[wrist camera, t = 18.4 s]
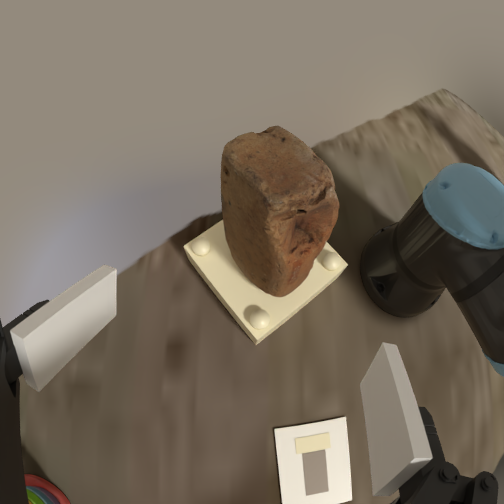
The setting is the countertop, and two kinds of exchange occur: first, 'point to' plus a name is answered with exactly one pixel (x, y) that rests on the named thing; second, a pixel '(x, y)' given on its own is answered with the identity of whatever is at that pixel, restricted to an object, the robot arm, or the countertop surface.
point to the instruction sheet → (314, 463)
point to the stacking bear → (43, 491)
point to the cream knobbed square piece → (247, 293)
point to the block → (276, 207)
